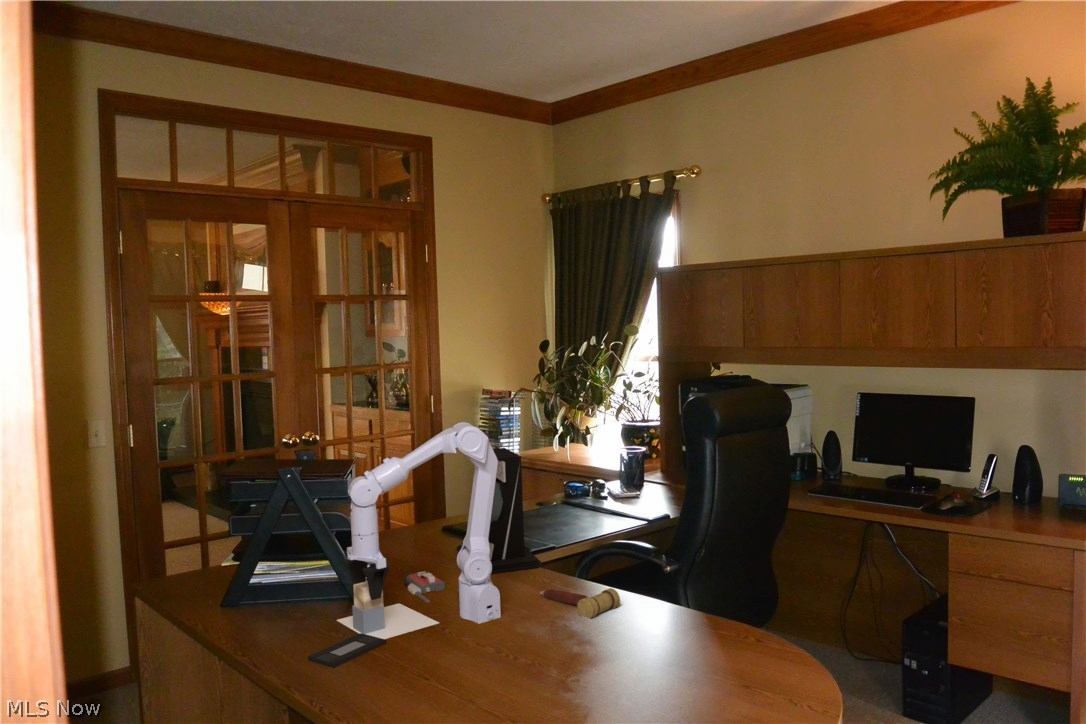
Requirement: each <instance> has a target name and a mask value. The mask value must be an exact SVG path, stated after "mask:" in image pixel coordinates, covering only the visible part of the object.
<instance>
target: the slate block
mask: <svg viewBox="0 0 1086 724" xmlns="http://www.w3.org/2000/svg"><path fill="white" fill-rule="evenodd" d="M351 606H352V616H353V628H354V629H356V630H357V631H359V632H361V633H362V634H367V633H370V632H374V631H377V630H381V629H385V619H384V607H385V605H383V606H380V607H376V608H372V609H368V610H365V611H364V610H362V609H360V608H358V607H356V606H354V604H353V605H351Z"/></svg>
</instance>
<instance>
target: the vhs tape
mask: <svg viewBox="0 0 1086 724" xmlns="http://www.w3.org/2000/svg"><path fill="white" fill-rule="evenodd" d="M387 642H388V641H387V639H381V638H378V637H374V636H370V635H366V634H362V633H360V634H359V633H357V634H356V635H354V636H351V637H349V638H346V639H344V640H342V641H340V642H337V643H335V644H333V645H330V646H327V647H326V648H323V649H321V650H319V651H317V652H315V653H312V654H310V655H308V656H307V661H309V662H312V663H316V664H318V665H323V666H326V667H330V668H332V669H335V668H337V667H339V666H342V665H343V664H345V663H348V662H349V661H352V660H354V659H356V658H359V657H360V656H363V655H364V654H368V653H369V652H371V651H374V650H375V649H377V648H380V647H382V646H384V645H387V644H388V643H387Z"/></svg>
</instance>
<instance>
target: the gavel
mask: <svg viewBox="0 0 1086 724" xmlns="http://www.w3.org/2000/svg"><path fill="white" fill-rule="evenodd" d="M539 594H540V595H541V596H542V597H544V598H545V599H547V600H550V601H553V602H554V601H555V602H558V603H563V604H569V605H574V606H577V607H576V608H577V612H578V614H579V616H580V615H581V616H584V617H587V618H591V619H592V617H593V618H595V617H596V616H597V615H599V614H601V613H603V612H606V611H609V610H614V609H616V608H618V607H619V605H620V603H621V598H620V595H619V593H618V591H617V590H615V589H614V588H612V587H609V588H607V589H605V590H602V591H601V592H600V593H598V594H595V595H593V596H587V595H585V594H580V593H575V592H574V593H573V592H568V591H561V590H557V589H551V588H550V589H546V590H541V591H540V592H539ZM581 616H580V617H581ZM584 617H583V618H584ZM587 618H586V619H587Z"/></svg>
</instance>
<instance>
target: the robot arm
mask: <svg viewBox="0 0 1086 724" xmlns="http://www.w3.org/2000/svg"><path fill="white" fill-rule="evenodd" d="M489 439H490V438H489V437H488V436H487V435H486V434H485V433H484V432H483V431H482V430H481V429H480V428H478V427H476V426H473V425H472V424H471V423H468V422H465V421H464V422H463V421H462V422H458V423H456V424H454V425H453V426H452V427H448V428H445V429H444V430H442V431H441V432H439V433H438V434H436V435H434V436H433V437H432V438H430V439H429V440H427V441H426V442H424V443H423V444H421V445H420V446H418V447H416V448H415V449H414V450H412V451H411V452H409V453H408V454H406V455H404V456H403V457H402V458H401V457H397V456H392V457H390V458H389V457H386V458H384V459H383V460H382V461H383V463H381V464H380V465H378V466H376V467H375V468H373V469H372V470H370V471H369V470H366V471H364V472H363V474H364V476H362V475H361V476H357V477H355V478H354V479H353V480H351V481H350V484H349V487H348V489H347V491H348V496H349V497H350V499H351V501H350V510H351V511H350V529H351V531H350V532H351V546H349V547H348V546H347V547H346V555H347V558H346V559H344V560H343V561H342V562H343V565H344V566H345V568H346V570H347V571H348V574H349V576H350V579H351V583H352V586H353V585H354V584H358V583H362V582H366V581H367V582H368V587H369V594H370V598H371V600H375V599H379V598H381V595H382V590H383V589H384V584H385V581H386V578H387V575H388V574H389V573H390V570H391V566H390V565H388V564H387V558H385V556H383V554H382V553H381V551H380V538H379V537H380V536H379V517H378V510H377V500H378V498H379V496H380V495H385V493H387V492H389V491H390V490H392V489H394V488H395V487H397V486H399V485H400V484H402V483H403V482H405V481H406V480H408V477H409V474H410V472H411V471H412V470H414V469H416V468H417V467H419V466H421V465H422V464H425V463H426V462H427V461H430V460H431V459H433V458H435V457H436V456H438V455H440V454H457V450H458V451H460V452H461V453H462V454H464V455H465V456H466V457H467V458H468V459H469V460H470V462H471V463H472V464H473V465H474V471H473V480H472V488H471V496H470V503H469V512H468V518H467V529H466V535H465V537H464V539H463V541H462V543H463V546H462V548H461V550H460V551H459V552H458V554H457V556H456V564H457V566H458V568H459V569H460V570H461V572H460V574H459V577H458V596H459V599H458V600H459V617H460V618H462V619H464V620H469V621H472V622H473V623H475V624H478V625H479V624H483V623H487V622H489V621H493V620H497V619H499V618H501V615H502V614H501V594H500V590H499V589H498V587H497V586H495V585H494V584H493V582H492V579H491V572H492V564H491V561H490V547H489V541H488V537H489V529H490V521H491V513H492V505H493V497H494V489H495V481H496V474H497V466H498V460H497V457H496V455H495V453H494V451H493V449H494V448H493V447H492V445H491V443H490V440H489ZM369 565H370V566H369ZM383 591H384V590H383Z"/></svg>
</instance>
